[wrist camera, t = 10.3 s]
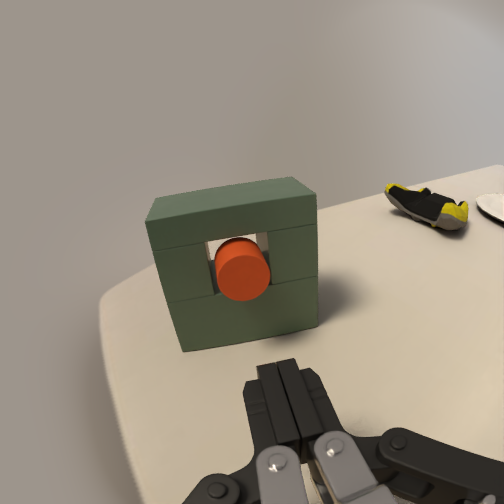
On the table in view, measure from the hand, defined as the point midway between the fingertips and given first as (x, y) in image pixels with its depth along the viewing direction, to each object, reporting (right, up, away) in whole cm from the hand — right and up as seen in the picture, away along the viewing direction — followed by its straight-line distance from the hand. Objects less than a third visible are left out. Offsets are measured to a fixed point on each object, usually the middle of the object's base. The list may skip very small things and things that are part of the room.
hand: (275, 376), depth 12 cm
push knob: (-2, +2, +11) cm, 12 cm away
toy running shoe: (+28, +10, +33) cm, 44 cm away
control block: (-1, -1, +17) cm, 17 cm away
